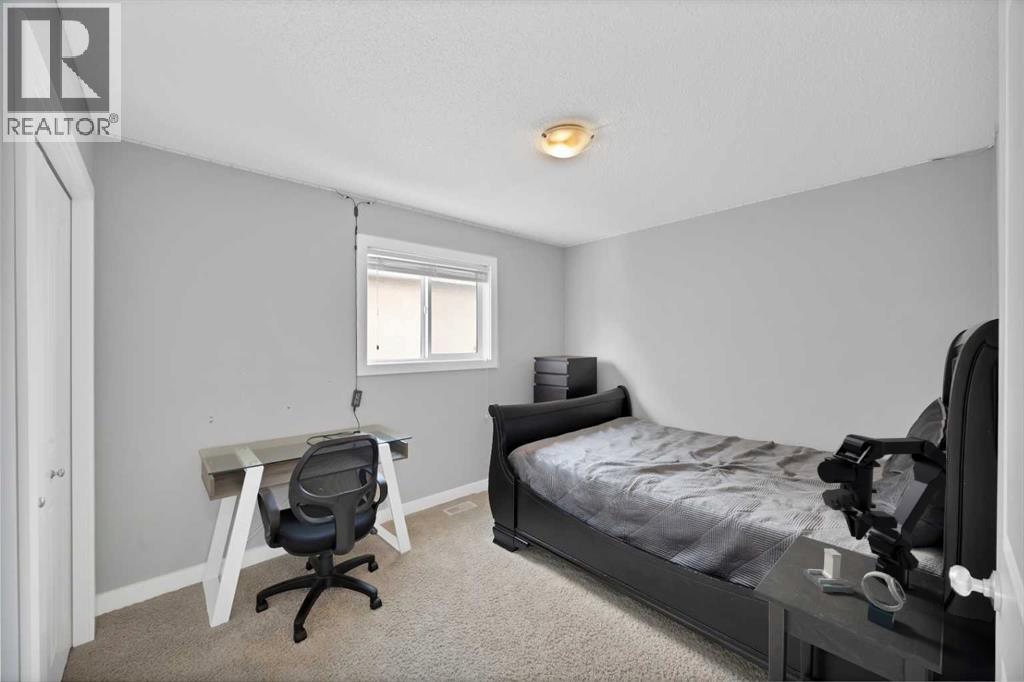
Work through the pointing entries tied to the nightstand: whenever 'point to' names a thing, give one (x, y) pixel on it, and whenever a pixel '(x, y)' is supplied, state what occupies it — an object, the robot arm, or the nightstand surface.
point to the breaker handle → (832, 564)
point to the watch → (879, 609)
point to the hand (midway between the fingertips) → (855, 538)
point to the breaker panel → (827, 582)
